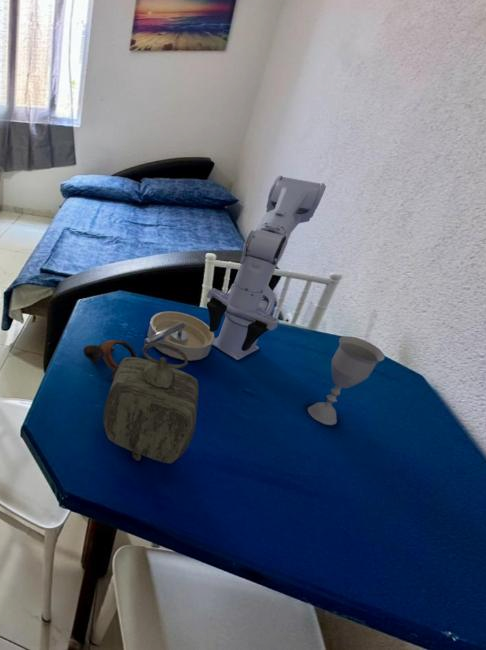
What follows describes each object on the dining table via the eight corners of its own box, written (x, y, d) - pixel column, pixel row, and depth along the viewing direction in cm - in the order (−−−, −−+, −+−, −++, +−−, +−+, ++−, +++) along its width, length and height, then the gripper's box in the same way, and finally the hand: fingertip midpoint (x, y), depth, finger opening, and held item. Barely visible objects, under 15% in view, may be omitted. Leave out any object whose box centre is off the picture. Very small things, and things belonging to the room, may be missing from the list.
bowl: (172, 319, 115) (176, 305, 112) (222, 350, 103) (227, 336, 101) (134, 334, 108) (138, 321, 106) (182, 370, 96) (187, 355, 94)
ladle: (176, 332, 108) (181, 315, 105) (190, 342, 104) (195, 324, 101) (135, 352, 101) (139, 334, 98) (149, 363, 98) (153, 345, 95)
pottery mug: (120, 352, 102) (138, 339, 95) (123, 389, 96) (142, 378, 90) (76, 342, 100) (91, 328, 93) (76, 379, 95) (92, 367, 88)
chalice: (349, 432, 82) (393, 364, 73) (312, 426, 83) (351, 358, 74) (331, 404, 88) (370, 339, 79) (296, 399, 89) (331, 333, 80)
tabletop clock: (180, 447, 77) (218, 344, 65) (175, 487, 70) (216, 380, 58) (105, 418, 83) (127, 319, 71) (93, 453, 76) (115, 348, 64)
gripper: (206, 274, 88) (189, 326, 94) (274, 307, 77) (250, 363, 83) (225, 269, 91) (208, 319, 97) (293, 299, 80) (269, 354, 86)
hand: (228, 339), depth 90 cm, fingers open, 7 cm apart
